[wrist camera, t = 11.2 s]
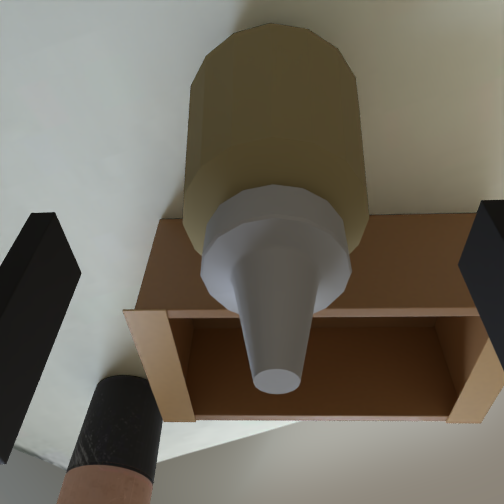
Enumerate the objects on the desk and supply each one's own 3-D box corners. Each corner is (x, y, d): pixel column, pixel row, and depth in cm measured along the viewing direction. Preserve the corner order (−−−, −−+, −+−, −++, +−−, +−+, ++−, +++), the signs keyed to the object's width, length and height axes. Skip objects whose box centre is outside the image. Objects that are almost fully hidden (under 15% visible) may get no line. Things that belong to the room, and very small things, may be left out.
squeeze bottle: (356, -7, 22) (493, 260, 8) (343, 146, 27) (414, 452, 14) (186, 3, 22) (61, 271, 9) (207, 152, 28) (150, 452, 14)
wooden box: (150, 218, 31) (122, 310, 25) (495, 211, 30) (551, 307, 24) (179, 333, 40) (163, 422, 34) (448, 331, 39) (480, 423, 33)
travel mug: (118, 416, 50) (56, 659, 36) (77, 380, 46) (-14, 643, 31) (181, 406, 48) (142, 658, 34) (145, 367, 44) (82, 641, 29)
